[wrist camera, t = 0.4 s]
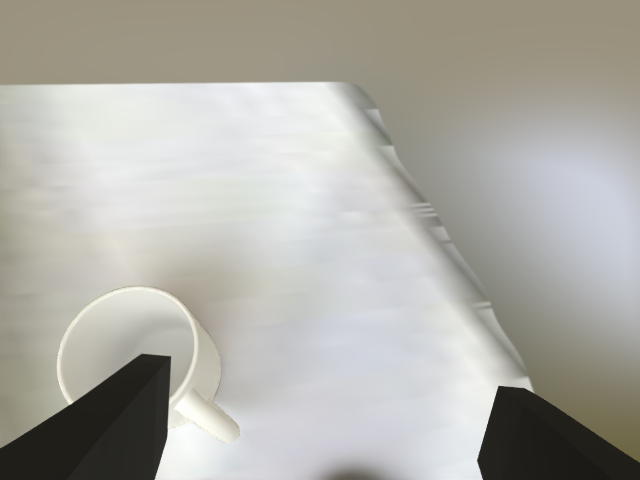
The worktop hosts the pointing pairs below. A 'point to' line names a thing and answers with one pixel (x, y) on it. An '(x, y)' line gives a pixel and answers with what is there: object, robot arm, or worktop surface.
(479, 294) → the worktop surface
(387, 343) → the worktop surface
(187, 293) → the worktop surface
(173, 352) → the mug
